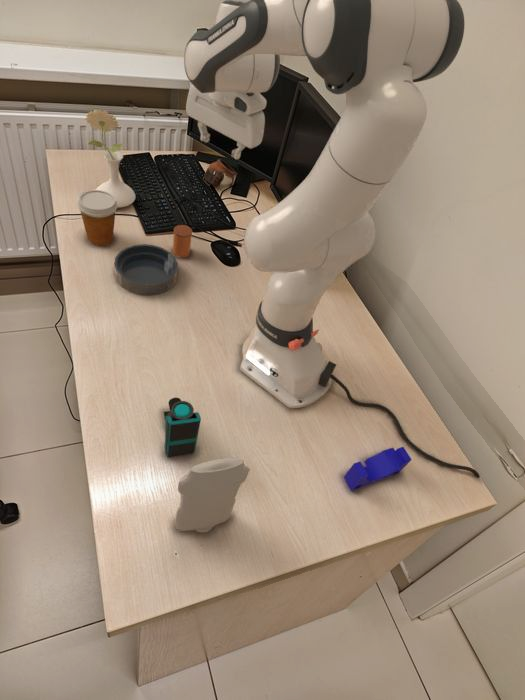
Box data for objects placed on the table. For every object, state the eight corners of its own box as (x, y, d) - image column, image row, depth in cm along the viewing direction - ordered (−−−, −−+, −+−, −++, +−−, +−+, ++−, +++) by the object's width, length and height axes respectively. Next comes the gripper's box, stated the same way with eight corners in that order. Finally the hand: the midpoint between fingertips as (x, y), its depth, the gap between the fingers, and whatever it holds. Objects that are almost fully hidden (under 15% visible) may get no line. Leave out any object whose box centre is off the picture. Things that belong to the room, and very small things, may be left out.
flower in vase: (141, 196, 139) (142, 112, 121) (125, 216, 132) (123, 128, 113) (100, 183, 139) (94, 97, 121) (82, 202, 132) (72, 112, 113)
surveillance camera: (191, 374, 85) (201, 420, 80) (186, 409, 94) (195, 453, 89) (160, 377, 84) (169, 425, 78) (158, 413, 93) (166, 458, 87)
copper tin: (193, 255, 126) (195, 233, 121) (178, 260, 124) (180, 237, 118) (183, 245, 128) (185, 223, 123) (168, 250, 126) (170, 227, 120)
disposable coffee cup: (114, 253, 121) (112, 213, 112) (76, 246, 119) (71, 206, 110) (122, 232, 127) (121, 193, 118) (86, 225, 126) (82, 185, 117)
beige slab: (174, 539, 78) (183, 484, 61) (170, 515, 80) (177, 456, 64) (234, 525, 81) (258, 469, 65) (229, 503, 84) (250, 444, 67)
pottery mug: (202, 174, 155) (216, 153, 152) (224, 191, 159) (239, 171, 155) (199, 183, 145) (214, 161, 142) (223, 202, 149) (238, 181, 145)
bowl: (188, 284, 119) (189, 272, 116) (135, 304, 110) (135, 292, 107) (156, 250, 125) (156, 238, 122) (103, 267, 116) (102, 254, 114)
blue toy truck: (387, 454, 97) (399, 440, 93) (398, 473, 95) (411, 459, 90) (339, 470, 92) (350, 456, 88) (350, 490, 90) (361, 477, 86)
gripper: (182, 73, 102) (178, 134, 112) (256, 110, 97) (245, 171, 107) (200, 68, 106) (195, 128, 116) (273, 104, 101) (260, 163, 111)
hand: (219, 149), depth 112 cm, fingers open, 8 cm apart
